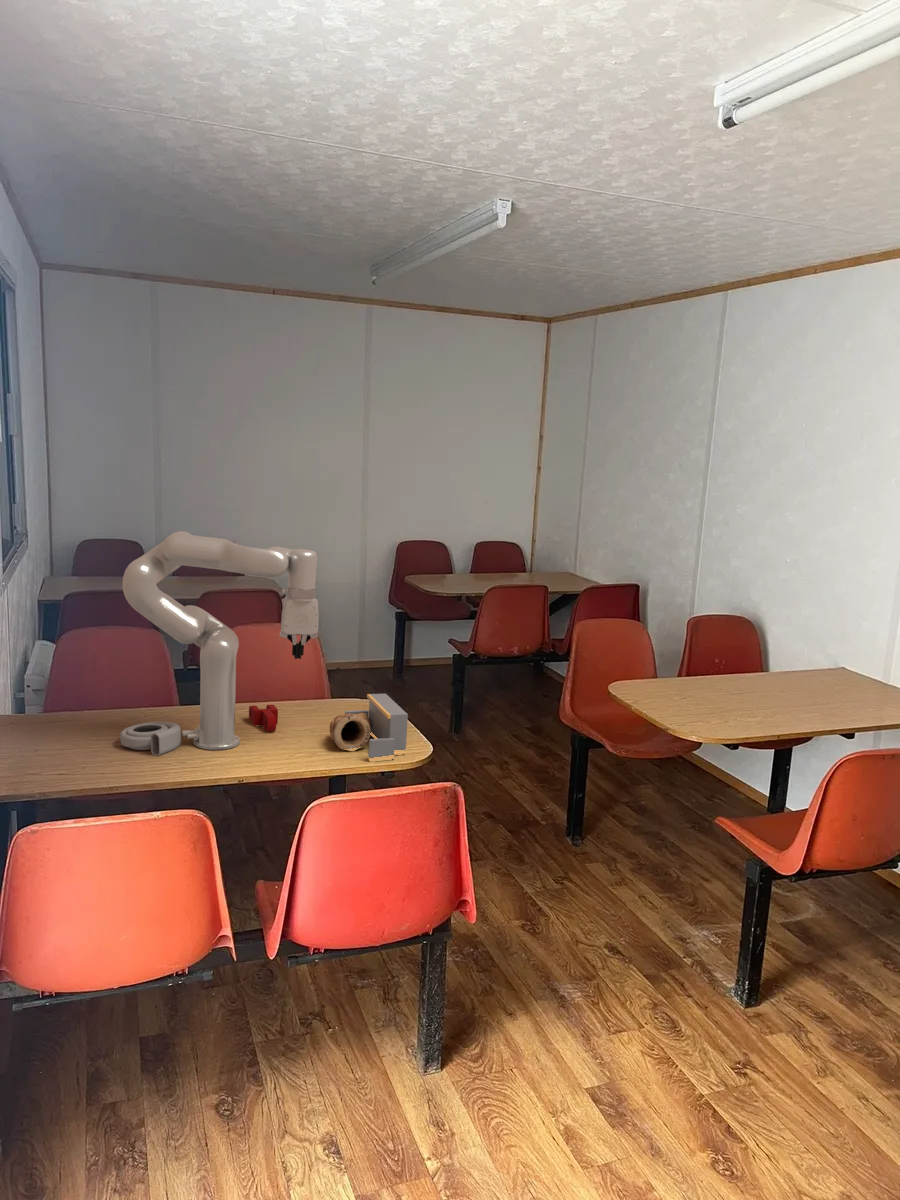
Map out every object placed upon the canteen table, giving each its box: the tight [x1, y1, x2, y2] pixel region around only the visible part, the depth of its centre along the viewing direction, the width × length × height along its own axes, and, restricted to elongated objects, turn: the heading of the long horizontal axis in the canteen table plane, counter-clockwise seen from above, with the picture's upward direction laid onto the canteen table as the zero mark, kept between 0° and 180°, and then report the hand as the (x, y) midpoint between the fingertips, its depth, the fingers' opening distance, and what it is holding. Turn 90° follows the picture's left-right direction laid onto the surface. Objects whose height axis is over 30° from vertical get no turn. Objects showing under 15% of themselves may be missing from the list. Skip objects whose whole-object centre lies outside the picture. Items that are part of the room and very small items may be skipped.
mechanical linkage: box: [248, 704, 279, 733], centre depth 264 cm, size 16×7×5 cm, turn 24°
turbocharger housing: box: [119, 720, 182, 757], centre depth 241 cm, size 17×6×15 cm
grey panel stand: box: [344, 693, 409, 758], centre depth 253 cm, size 12×29×12 cm, turn 21°
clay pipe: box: [329, 713, 371, 751], centre depth 253 cm, size 19×11×15 cm
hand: (297, 657), depth 246 cm, fingers closed
